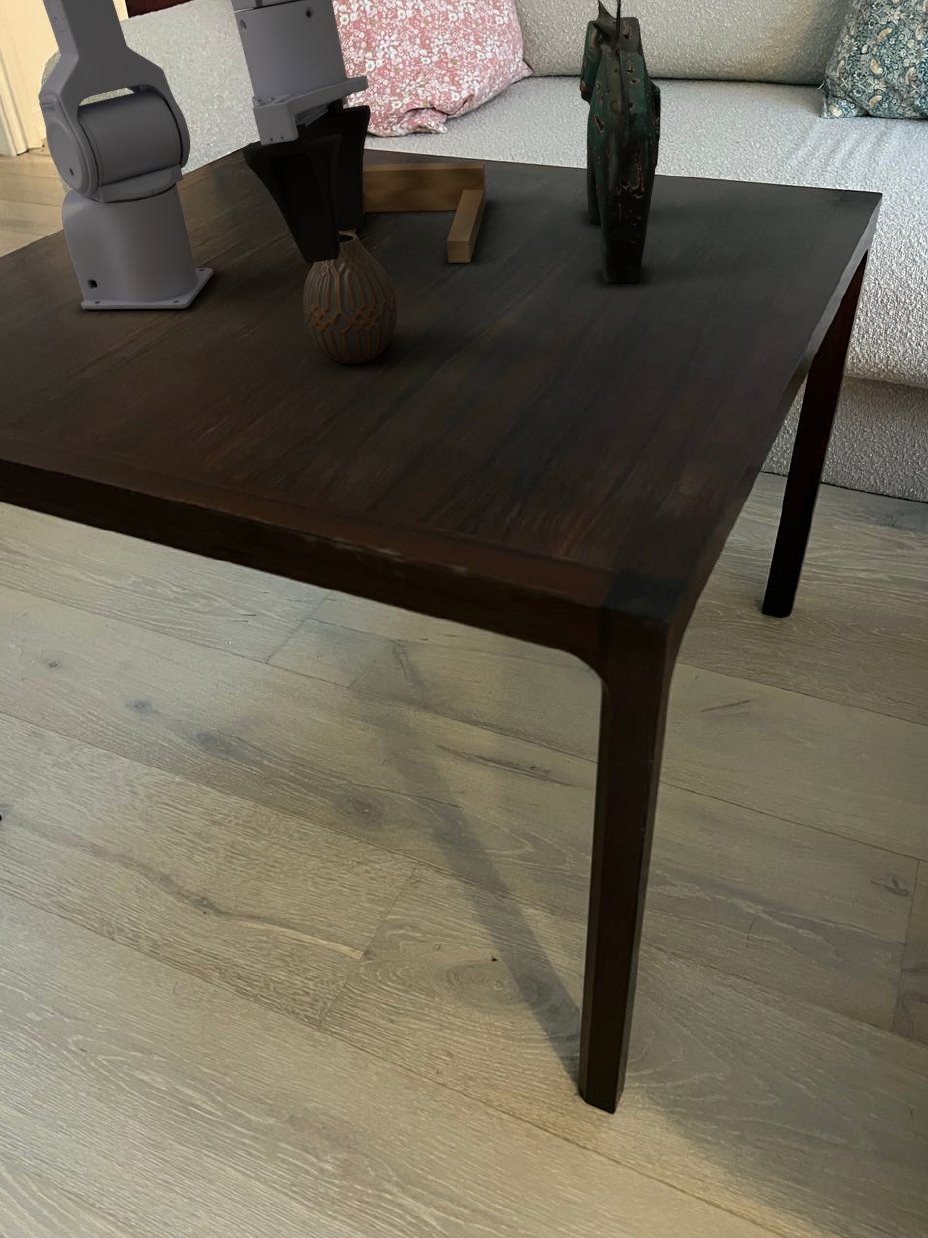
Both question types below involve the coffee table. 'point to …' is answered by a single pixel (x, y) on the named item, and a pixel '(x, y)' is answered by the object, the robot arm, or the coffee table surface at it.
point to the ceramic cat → (619, 140)
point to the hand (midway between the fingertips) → (335, 243)
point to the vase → (350, 304)
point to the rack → (431, 196)
